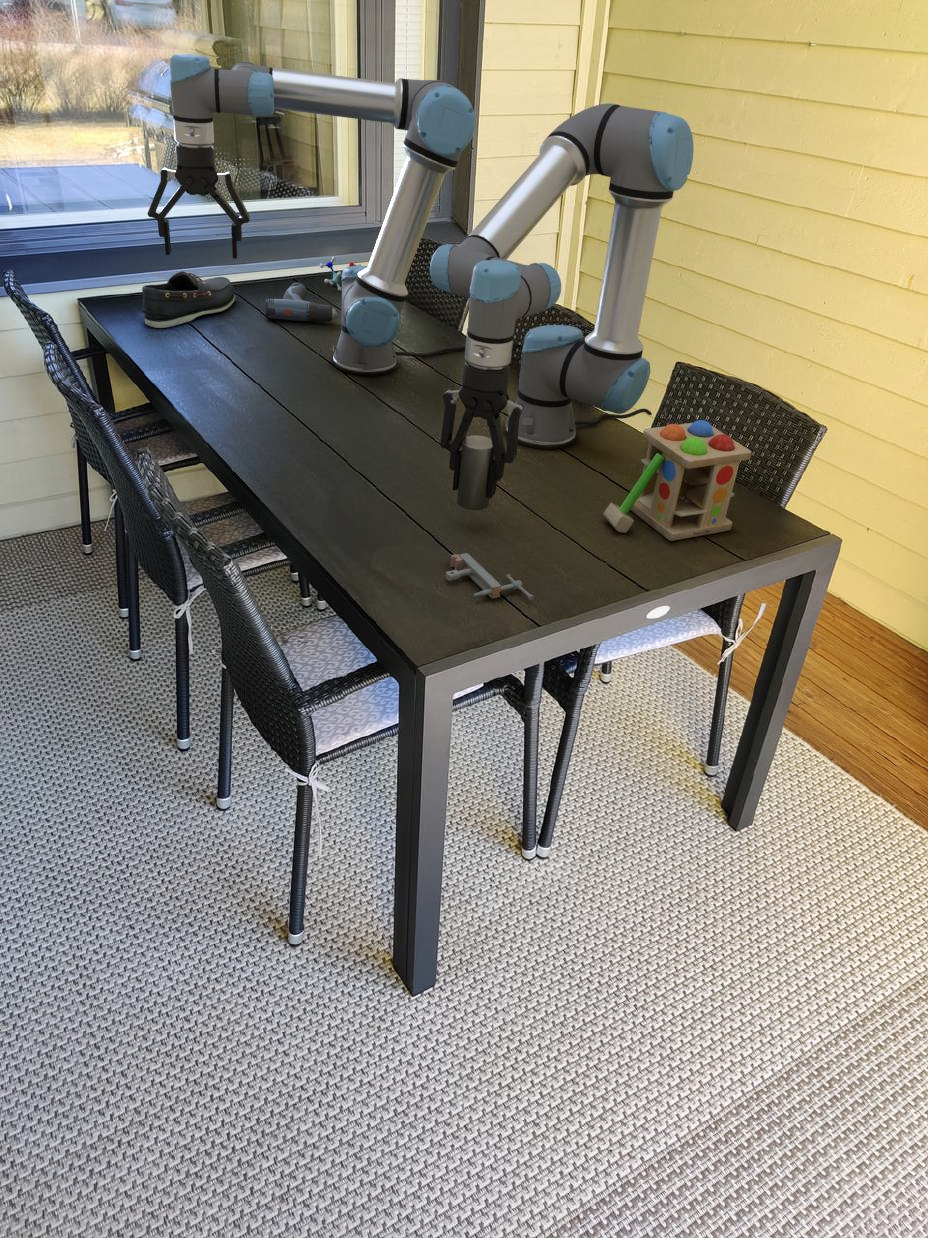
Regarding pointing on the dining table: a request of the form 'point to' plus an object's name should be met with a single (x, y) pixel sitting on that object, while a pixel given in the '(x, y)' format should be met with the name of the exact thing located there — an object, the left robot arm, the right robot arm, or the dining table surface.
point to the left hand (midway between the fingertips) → (201, 255)
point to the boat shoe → (185, 299)
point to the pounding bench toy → (683, 482)
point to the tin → (475, 472)
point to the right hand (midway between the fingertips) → (474, 490)
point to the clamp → (480, 576)
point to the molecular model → (335, 275)
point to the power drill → (298, 307)
